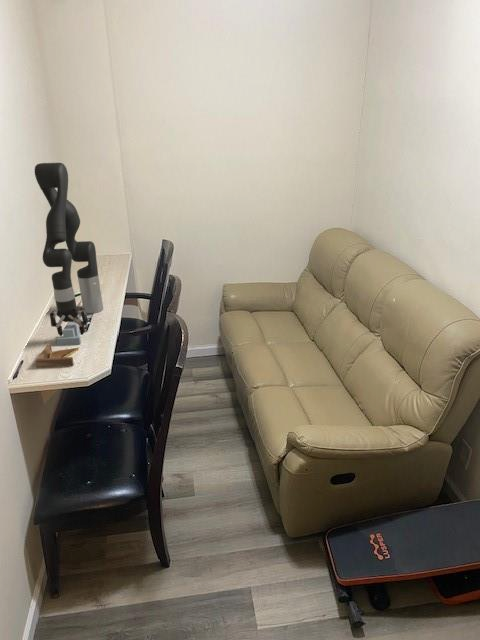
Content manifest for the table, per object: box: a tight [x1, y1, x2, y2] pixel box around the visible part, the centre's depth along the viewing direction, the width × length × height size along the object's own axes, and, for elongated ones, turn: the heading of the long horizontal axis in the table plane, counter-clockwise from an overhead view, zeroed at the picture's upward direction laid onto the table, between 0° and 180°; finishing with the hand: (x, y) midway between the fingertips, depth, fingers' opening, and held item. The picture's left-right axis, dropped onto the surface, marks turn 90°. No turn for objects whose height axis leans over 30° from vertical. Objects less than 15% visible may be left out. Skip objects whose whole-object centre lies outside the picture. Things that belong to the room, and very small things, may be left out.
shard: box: [48, 347, 80, 358], centre depth 181 cm, size 11×8×2 cm
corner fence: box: [35, 344, 75, 369], centre depth 178 cm, size 13×13×3 cm
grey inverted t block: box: [56, 321, 82, 347], centre depth 193 cm, size 10×9×6 cm
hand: (71, 334), depth 194 cm, fingers open, 8 cm apart
